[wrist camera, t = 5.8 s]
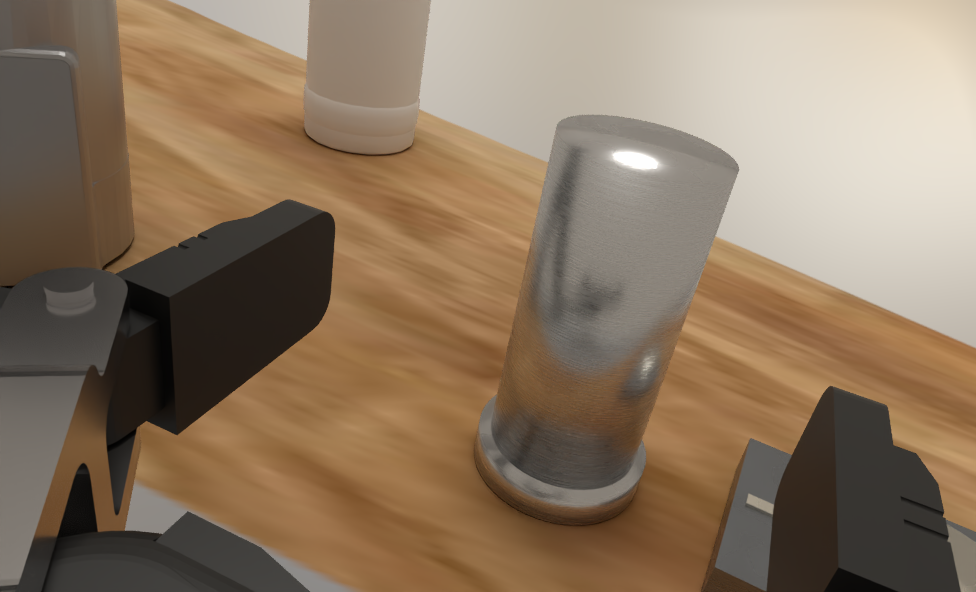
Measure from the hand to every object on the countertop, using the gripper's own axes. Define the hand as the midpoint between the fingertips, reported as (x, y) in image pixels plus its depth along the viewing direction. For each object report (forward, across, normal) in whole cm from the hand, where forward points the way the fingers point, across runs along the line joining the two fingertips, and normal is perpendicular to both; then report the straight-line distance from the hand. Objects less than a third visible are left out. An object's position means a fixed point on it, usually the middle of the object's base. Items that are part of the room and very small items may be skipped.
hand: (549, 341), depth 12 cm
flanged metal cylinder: (+11, -1, -12) cm, 16 cm away
